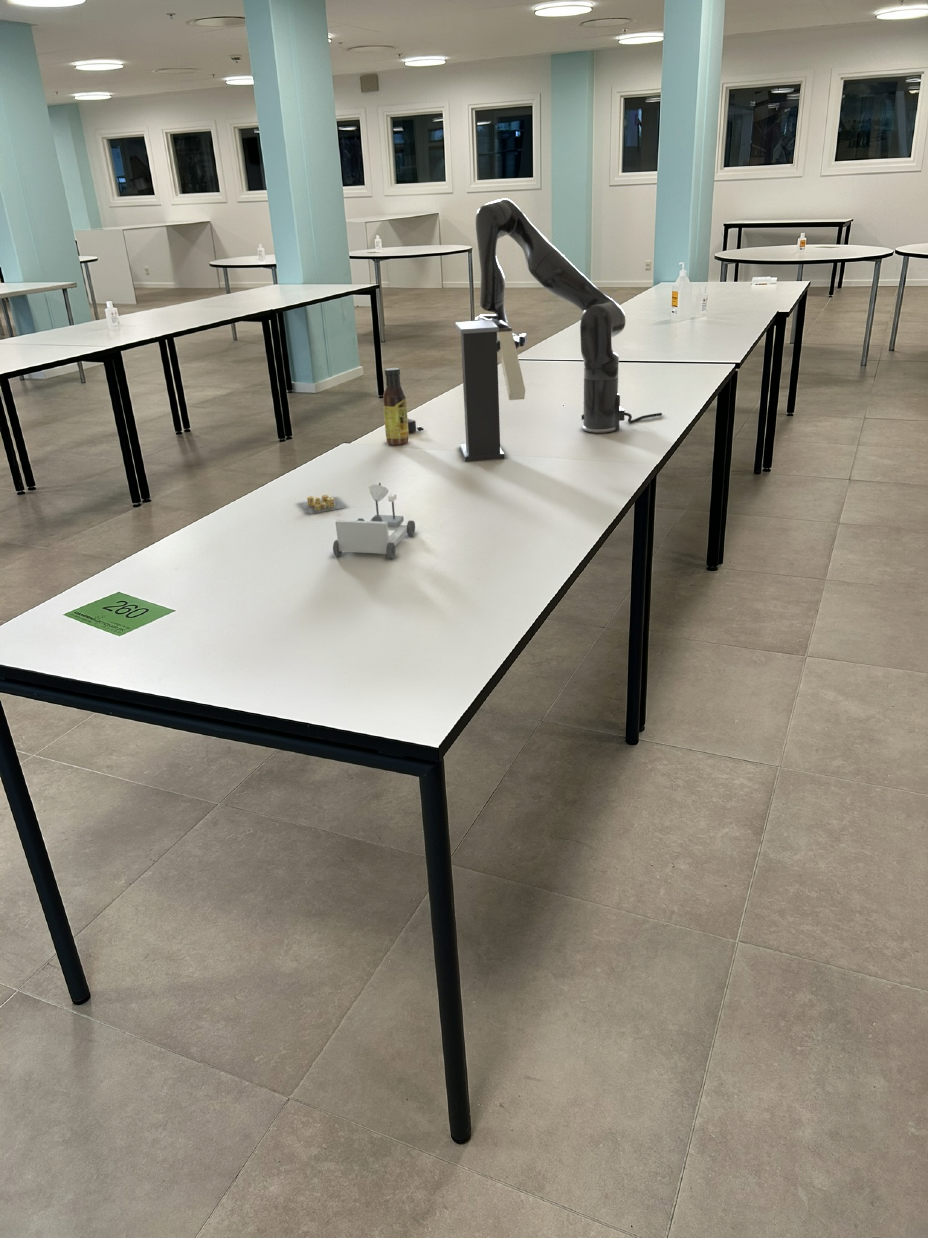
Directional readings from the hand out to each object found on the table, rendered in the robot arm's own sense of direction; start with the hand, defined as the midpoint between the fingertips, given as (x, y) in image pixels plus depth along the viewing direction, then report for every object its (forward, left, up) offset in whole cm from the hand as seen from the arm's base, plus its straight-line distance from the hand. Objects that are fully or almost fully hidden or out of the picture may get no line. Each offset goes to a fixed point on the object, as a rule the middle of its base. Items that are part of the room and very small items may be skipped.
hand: (507, 345), depth 237 cm
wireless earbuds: (+27, -13, -24) cm, 38 cm away
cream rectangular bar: (0, +3, -5) cm, 6 cm away
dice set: (+50, +49, -24) cm, 74 cm away
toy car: (+38, +75, -24) cm, 88 cm away
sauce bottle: (+31, -1, -24) cm, 39 cm away
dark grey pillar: (+10, +16, -24) cm, 31 cm away
